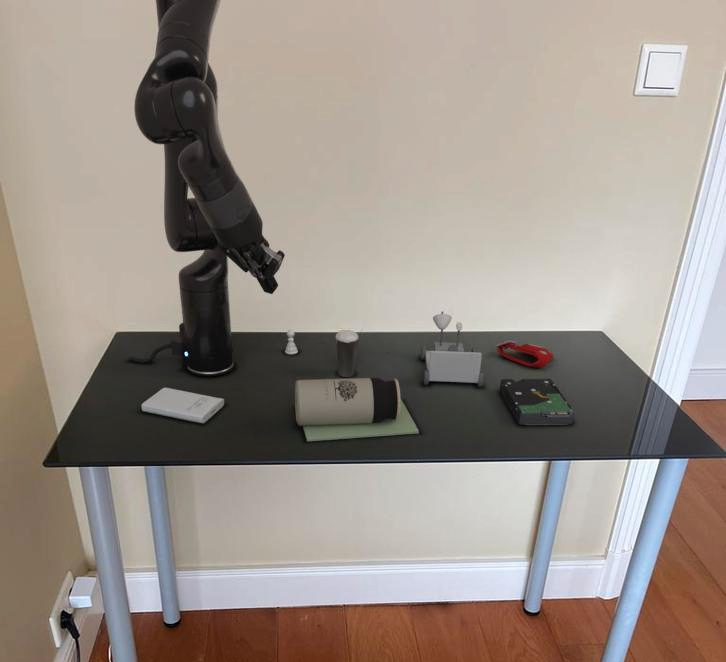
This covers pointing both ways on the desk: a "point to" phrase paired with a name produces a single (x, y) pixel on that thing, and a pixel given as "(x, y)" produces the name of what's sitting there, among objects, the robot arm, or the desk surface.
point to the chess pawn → (291, 343)
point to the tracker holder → (530, 349)
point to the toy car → (451, 359)
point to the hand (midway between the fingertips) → (271, 289)
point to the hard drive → (183, 405)
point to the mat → (363, 428)
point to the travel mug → (346, 401)
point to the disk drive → (536, 402)
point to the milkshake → (346, 352)
